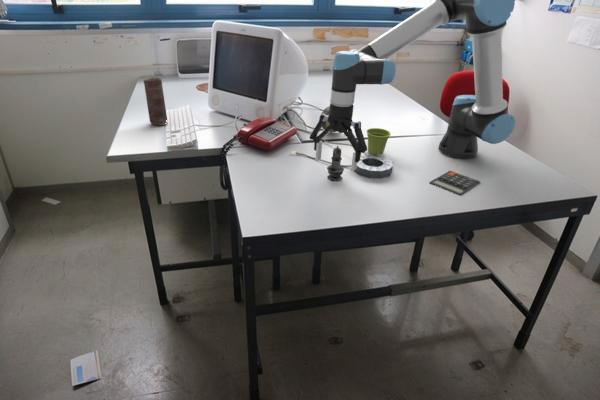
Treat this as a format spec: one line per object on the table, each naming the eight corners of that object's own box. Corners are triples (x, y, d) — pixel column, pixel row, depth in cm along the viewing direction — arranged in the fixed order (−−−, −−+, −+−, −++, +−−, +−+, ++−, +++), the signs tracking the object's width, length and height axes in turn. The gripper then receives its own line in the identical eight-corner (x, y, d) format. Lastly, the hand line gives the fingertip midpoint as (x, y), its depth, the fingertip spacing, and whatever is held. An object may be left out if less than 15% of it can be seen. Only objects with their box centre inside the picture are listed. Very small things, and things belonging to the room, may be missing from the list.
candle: (153, 127, 176) (147, 81, 166) (147, 123, 181) (140, 77, 171) (170, 124, 180) (165, 78, 171) (163, 120, 185) (158, 75, 175)
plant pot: (390, 151, 165) (394, 131, 160) (382, 159, 158) (385, 138, 153) (369, 146, 169) (371, 126, 164) (360, 153, 162) (362, 133, 157)
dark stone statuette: (342, 174, 144) (345, 142, 139) (344, 182, 139) (347, 149, 133) (325, 174, 144) (328, 142, 138) (327, 181, 139) (329, 148, 133)
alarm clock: (324, 136, 176) (327, 99, 168) (317, 132, 180) (319, 96, 172) (344, 132, 182) (347, 96, 174) (336, 129, 185) (340, 93, 177)
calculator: (480, 181, 144) (460, 194, 134) (480, 183, 144) (460, 196, 135) (450, 169, 151) (429, 181, 141) (449, 172, 151) (428, 184, 142)
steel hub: (396, 168, 151) (398, 160, 150) (382, 182, 141) (384, 173, 139) (361, 158, 157) (362, 151, 156) (346, 171, 147) (346, 163, 145)
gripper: (383, 108, 126) (373, 170, 137) (313, 93, 137) (309, 152, 147) (374, 114, 121) (364, 178, 131) (302, 98, 131) (298, 158, 142)
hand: (335, 164), depth 139 cm, fingers open, 13 cm apart
